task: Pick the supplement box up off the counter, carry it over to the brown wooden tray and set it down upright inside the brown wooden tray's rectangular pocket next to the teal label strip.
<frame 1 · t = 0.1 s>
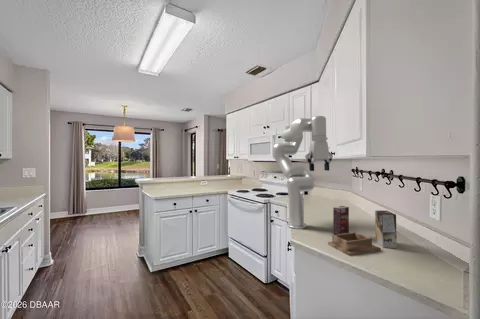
hand: (319, 170, 122), 37 cm above the counter, tool pointing down, fingers open, 9 cm apart
brown wooden tray: (353, 247, 109), on the counter
coffee box: (385, 244, 112), on the counter
supplement box: (341, 235, 126), on the counter
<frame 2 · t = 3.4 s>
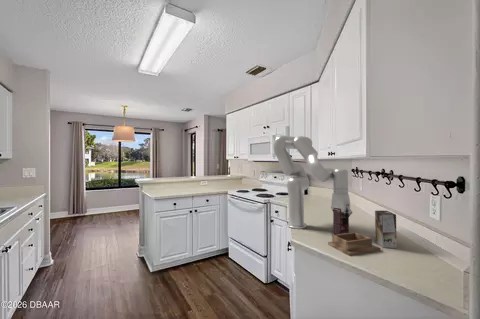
hand: (341, 222, 126), 7 cm above the counter, tool pointing down, fingers closed on supplement box, 5 cm apart
supplement box: (341, 235, 126), on the counter, touching gripper
everything else where it was.
when the fingers open (10 cm above the counter, at t = 10.0 s): supplement box drops 2 cm, resting on brown wooden tray.
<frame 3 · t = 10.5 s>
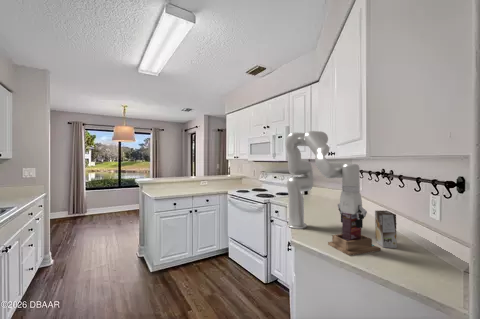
hand: (351, 224, 109), 11 cm above the counter, tool pointing down, fingers open, 9 cm apart
supplement box: (351, 245, 109), point 1 cm above the counter, touching brown wooden tray
everything else where it was.
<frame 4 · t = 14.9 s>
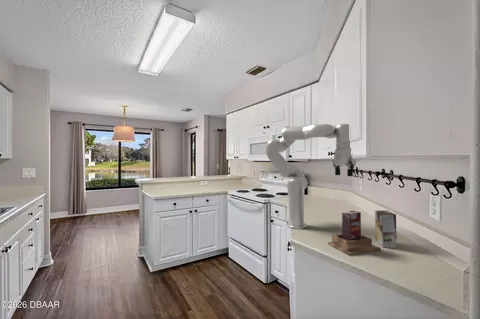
hand: (343, 175, 129), 33 cm above the counter, tool pointing down, fingers open, 9 cm apart
nothing on the counter moved.
at the end: supplement box 0.1 cm from the target spot on the brown wooden tray, point 1.0 cm above the brown wooden tray's base; supplement box tilted 0°; the gripper is holding nothing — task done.
